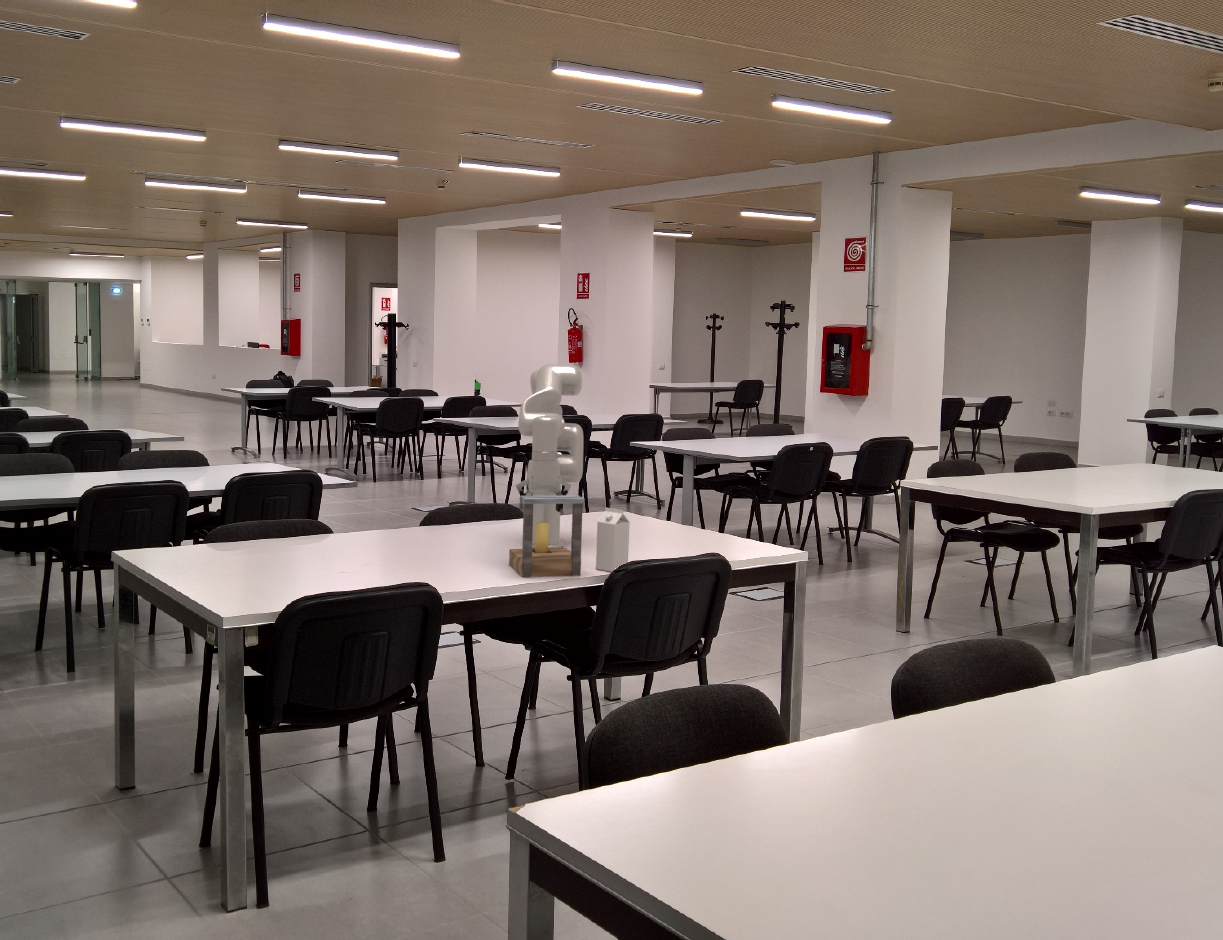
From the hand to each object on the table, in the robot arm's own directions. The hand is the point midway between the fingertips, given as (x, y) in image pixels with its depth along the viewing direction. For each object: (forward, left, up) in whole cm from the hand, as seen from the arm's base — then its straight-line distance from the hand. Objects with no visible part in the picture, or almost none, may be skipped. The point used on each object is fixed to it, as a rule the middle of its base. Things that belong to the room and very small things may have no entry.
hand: (542, 511), depth 345 cm
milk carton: (+7, +21, -18) cm, 28 cm away
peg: (+1, 0, -17) cm, 17 cm away
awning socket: (+5, 0, -17) cm, 18 cm away
